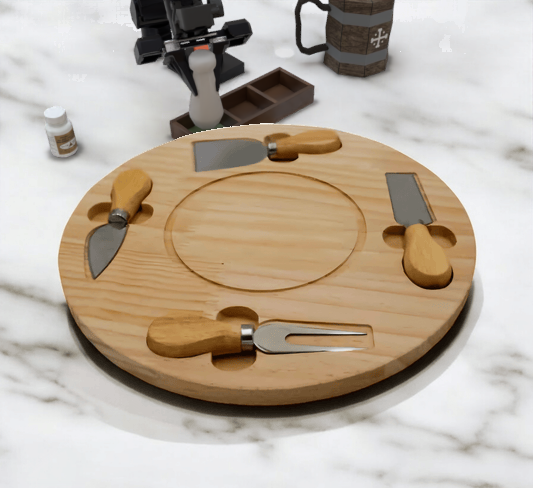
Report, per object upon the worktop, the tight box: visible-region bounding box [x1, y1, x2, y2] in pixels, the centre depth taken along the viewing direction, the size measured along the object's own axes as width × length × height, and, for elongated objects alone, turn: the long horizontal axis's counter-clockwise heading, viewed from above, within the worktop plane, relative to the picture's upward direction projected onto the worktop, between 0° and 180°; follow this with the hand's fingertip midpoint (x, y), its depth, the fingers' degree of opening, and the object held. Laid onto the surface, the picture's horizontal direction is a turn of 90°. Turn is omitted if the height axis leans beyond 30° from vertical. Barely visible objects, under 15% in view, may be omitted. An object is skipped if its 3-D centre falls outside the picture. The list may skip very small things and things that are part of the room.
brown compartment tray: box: [169, 66, 316, 140], centre depth 116 cm, size 9×26×4 cm, turn 133°
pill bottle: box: [43, 105, 79, 158], centre depth 108 cm, size 4×4×8 cm
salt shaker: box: [188, 49, 224, 130], centre depth 106 cm, size 6×6×13 cm
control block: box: [166, 47, 245, 85], centre depth 127 cm, size 12×10×4 cm
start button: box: [194, 45, 209, 51], centre depth 126 cm, size 4×4×2 cm
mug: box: [294, 0, 396, 79], centre depth 126 cm, size 20×14×15 cm
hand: (207, 93), depth 105 cm, fingers closed on salt shaker, 3 cm apart
